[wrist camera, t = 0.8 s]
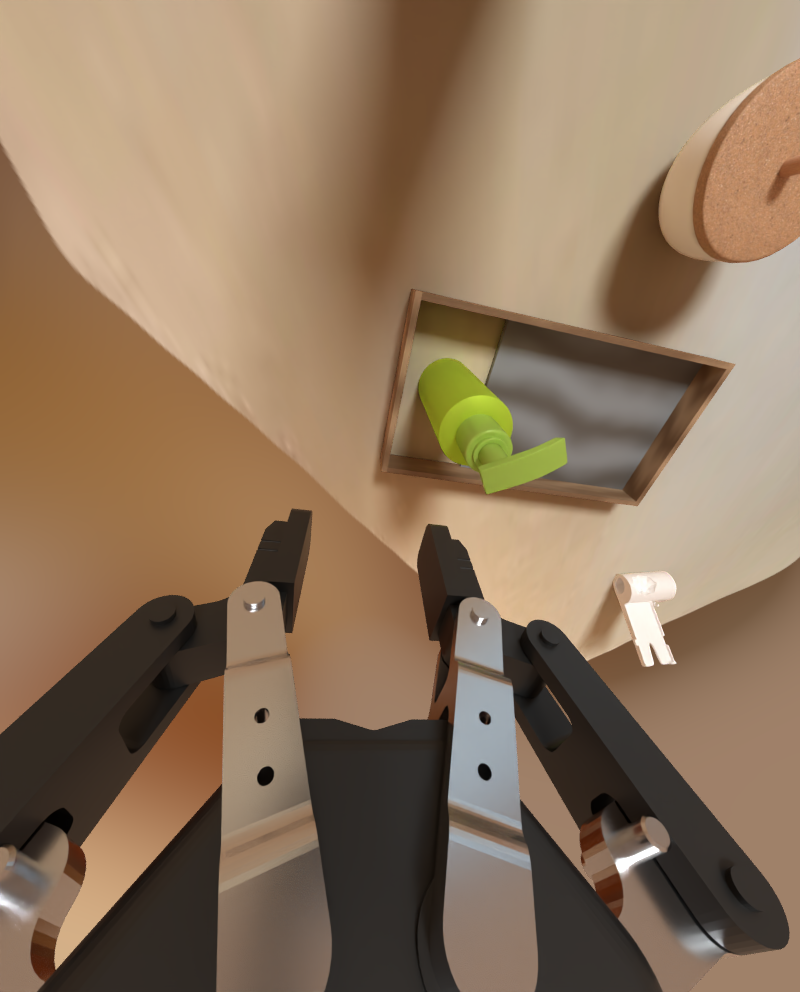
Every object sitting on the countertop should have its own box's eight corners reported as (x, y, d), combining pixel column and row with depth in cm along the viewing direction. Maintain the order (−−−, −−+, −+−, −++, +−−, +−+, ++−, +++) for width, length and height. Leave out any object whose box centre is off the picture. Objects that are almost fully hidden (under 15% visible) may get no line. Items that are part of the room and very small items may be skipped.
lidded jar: (771, 69, 26) (944, -18, 18) (752, 230, 32) (878, 216, 24) (629, 145, 28) (731, 96, 20) (635, 285, 34) (716, 289, 26)
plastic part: (661, 566, 57) (722, 625, 47) (639, 605, 62) (689, 666, 53) (618, 569, 57) (670, 630, 47) (600, 608, 62) (643, 670, 52)
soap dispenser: (485, 397, 39) (574, 492, 22) (427, 419, 39) (471, 527, 23) (472, 345, 35) (565, 409, 19) (410, 371, 36) (446, 454, 20)
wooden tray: (411, 288, 32) (416, 290, 29) (707, 357, 38) (735, 364, 35) (380, 457, 42) (381, 471, 39) (620, 491, 47) (637, 506, 45)
